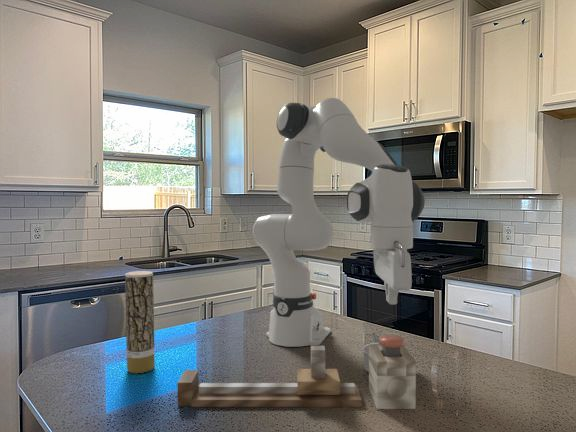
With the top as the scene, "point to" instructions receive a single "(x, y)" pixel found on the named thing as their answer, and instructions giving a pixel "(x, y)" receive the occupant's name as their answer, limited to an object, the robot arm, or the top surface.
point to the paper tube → (139, 321)
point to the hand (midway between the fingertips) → (391, 302)
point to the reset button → (391, 345)
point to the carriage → (318, 376)
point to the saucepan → (366, 351)
